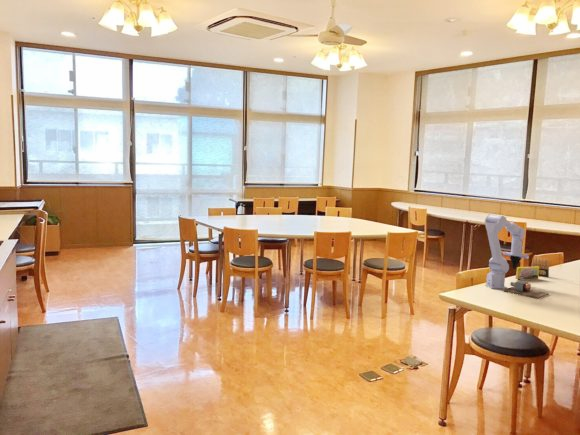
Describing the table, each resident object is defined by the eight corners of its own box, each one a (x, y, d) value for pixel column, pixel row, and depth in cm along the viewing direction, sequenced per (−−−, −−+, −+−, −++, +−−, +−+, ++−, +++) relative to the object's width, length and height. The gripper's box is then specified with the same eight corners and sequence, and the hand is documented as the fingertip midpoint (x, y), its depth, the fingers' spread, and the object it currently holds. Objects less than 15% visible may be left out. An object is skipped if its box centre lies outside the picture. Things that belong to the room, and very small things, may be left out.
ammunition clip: (548, 276, 311) (550, 258, 310) (547, 277, 310) (549, 259, 309) (531, 274, 318) (532, 256, 317) (530, 274, 317) (531, 256, 316)
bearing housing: (527, 290, 272) (528, 281, 271) (522, 292, 268) (523, 283, 267) (520, 288, 275) (520, 280, 275) (514, 290, 271) (515, 282, 270)
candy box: (517, 280, 300) (518, 267, 299) (515, 279, 302) (516, 267, 301) (538, 279, 304) (539, 266, 303) (536, 278, 306) (537, 266, 305)
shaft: (530, 290, 270) (531, 283, 269) (527, 291, 267) (527, 284, 266) (512, 286, 277) (513, 279, 277) (509, 288, 274) (509, 280, 274)
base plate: (548, 294, 267) (548, 293, 267) (538, 299, 258) (538, 297, 258) (514, 287, 281) (514, 286, 281) (503, 291, 272) (503, 289, 272)
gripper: (531, 247, 286) (529, 269, 287) (507, 244, 297) (506, 265, 298) (526, 248, 281) (524, 271, 283) (502, 245, 292) (500, 266, 294)
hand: (514, 268), depth 290 cm, fingers closed
